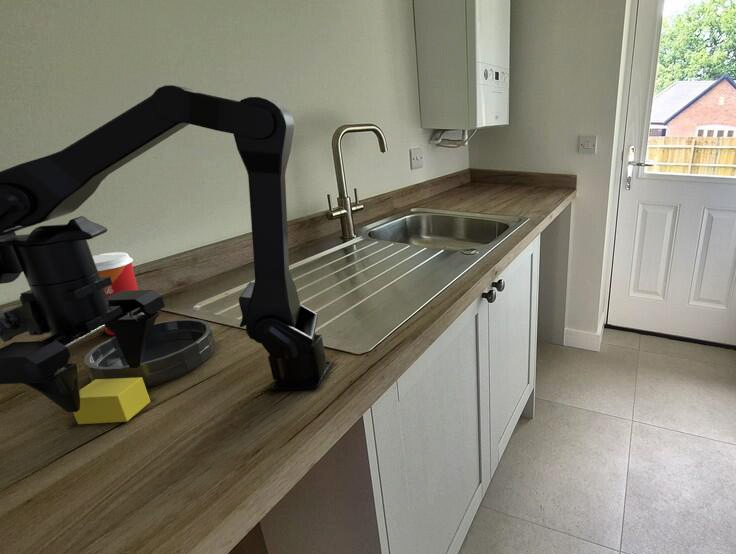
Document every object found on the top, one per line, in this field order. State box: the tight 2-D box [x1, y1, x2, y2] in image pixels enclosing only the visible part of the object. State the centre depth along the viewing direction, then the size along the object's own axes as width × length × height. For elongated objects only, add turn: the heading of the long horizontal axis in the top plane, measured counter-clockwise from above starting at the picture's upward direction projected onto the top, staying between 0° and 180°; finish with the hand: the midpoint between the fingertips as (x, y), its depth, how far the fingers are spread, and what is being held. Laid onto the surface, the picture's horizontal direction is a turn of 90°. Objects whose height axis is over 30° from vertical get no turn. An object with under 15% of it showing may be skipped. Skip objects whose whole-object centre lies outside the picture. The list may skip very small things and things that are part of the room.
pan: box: [83, 318, 217, 388], centre depth 65 cm, size 15×15×4 cm
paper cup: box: [92, 251, 139, 336], centre depth 75 cm, size 8×8×14 cm
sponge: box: [72, 377, 151, 425], centre depth 54 cm, size 6×4×4 cm, turn 94°
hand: (107, 387), depth 53 cm, fingers open, 9 cm apart
